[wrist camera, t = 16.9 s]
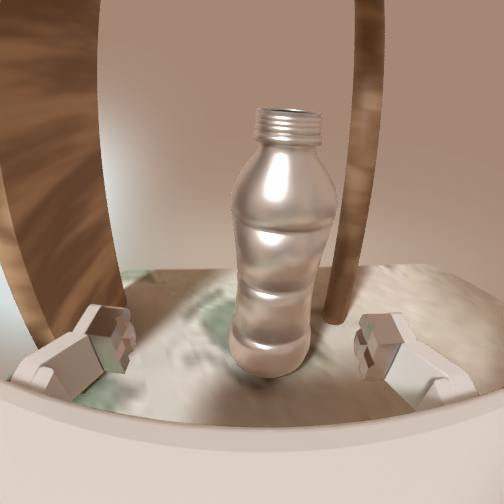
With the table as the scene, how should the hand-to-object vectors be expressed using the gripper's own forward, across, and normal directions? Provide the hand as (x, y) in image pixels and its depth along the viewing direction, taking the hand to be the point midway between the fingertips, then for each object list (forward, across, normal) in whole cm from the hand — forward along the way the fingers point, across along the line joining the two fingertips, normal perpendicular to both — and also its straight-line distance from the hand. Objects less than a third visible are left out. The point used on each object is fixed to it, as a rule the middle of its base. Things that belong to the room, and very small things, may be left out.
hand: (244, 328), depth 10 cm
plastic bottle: (+10, -2, +14) cm, 17 cm away
